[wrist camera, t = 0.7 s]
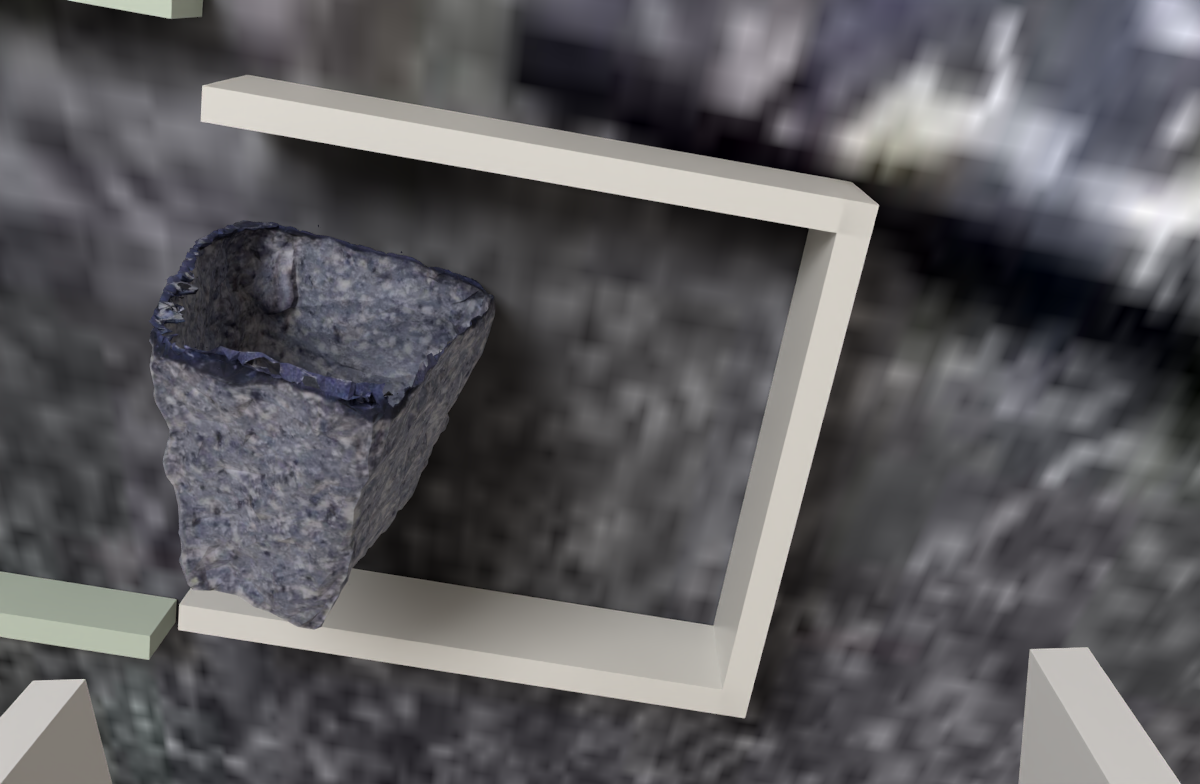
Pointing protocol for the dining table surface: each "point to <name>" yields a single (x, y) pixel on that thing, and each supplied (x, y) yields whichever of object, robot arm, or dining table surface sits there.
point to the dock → (780, 466)
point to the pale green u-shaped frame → (77, 608)
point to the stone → (302, 404)
